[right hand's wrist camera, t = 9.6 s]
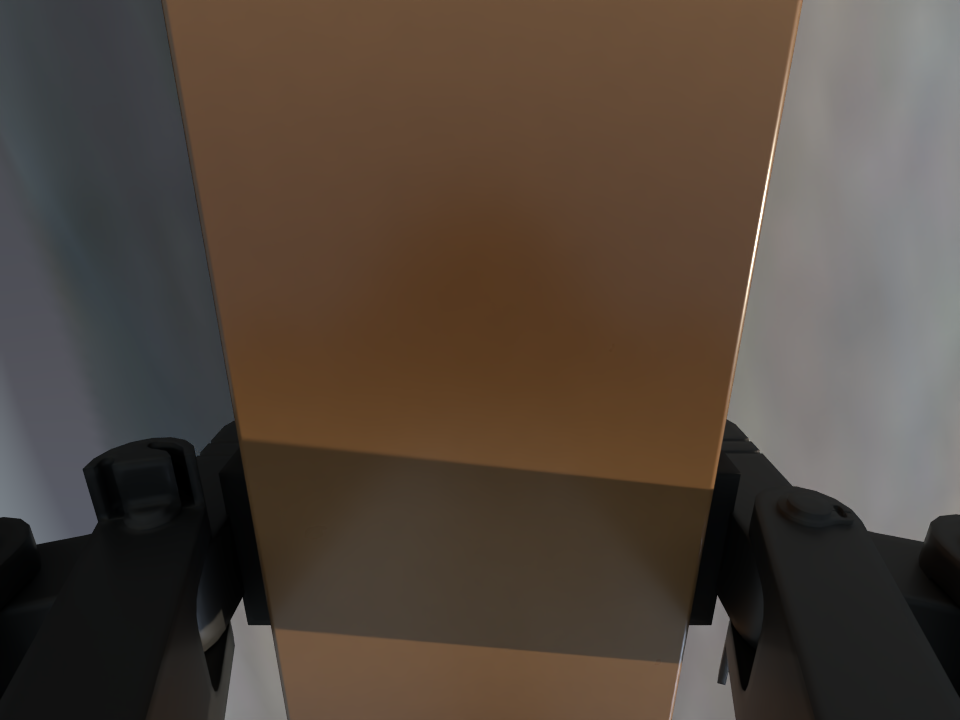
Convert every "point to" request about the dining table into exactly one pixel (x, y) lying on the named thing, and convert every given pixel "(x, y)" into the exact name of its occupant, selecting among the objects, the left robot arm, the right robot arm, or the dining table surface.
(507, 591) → the post
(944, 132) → the dining table surface
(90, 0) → the dining table surface
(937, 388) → the dining table surface
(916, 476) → the dining table surface
